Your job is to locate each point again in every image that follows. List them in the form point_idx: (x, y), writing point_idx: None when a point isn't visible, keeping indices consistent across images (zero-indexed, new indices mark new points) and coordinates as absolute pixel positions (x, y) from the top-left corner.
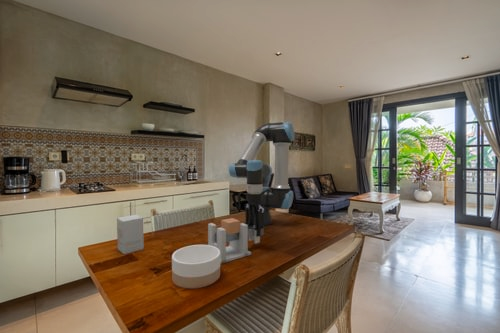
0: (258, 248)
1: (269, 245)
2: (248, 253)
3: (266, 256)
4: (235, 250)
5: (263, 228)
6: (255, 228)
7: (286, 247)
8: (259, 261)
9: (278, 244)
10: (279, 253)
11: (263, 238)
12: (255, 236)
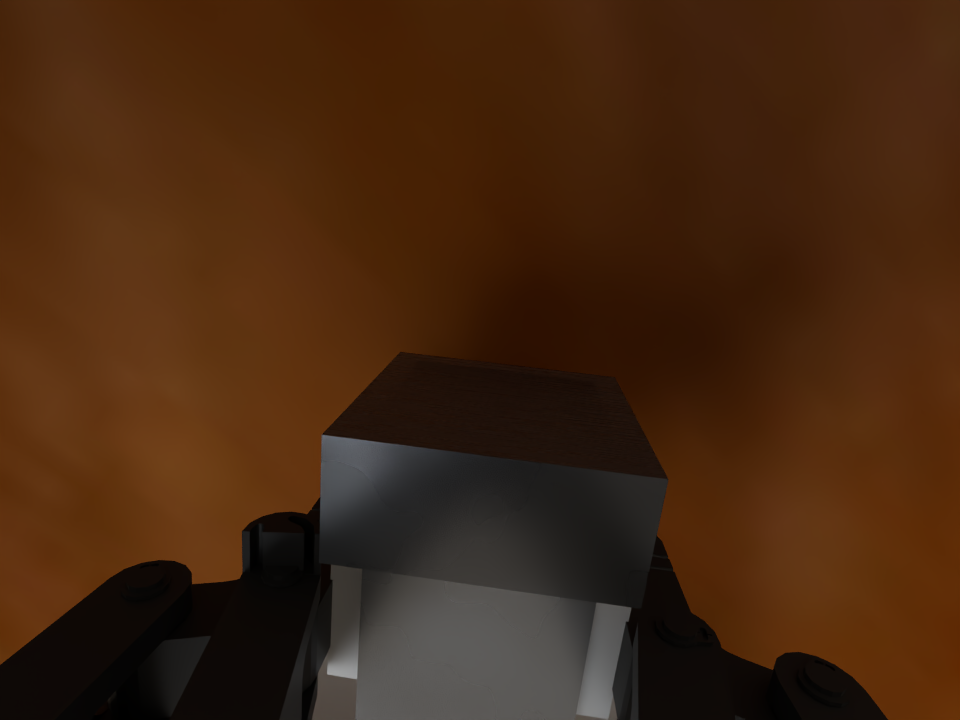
0: None
1: (613, 213)
2: None
3: (833, 529)
4: None
5: (640, 442)
6: (574, 699)
7: (894, 49)
8: (850, 671)
9: (698, 52)
10: (928, 336)
11: (313, 42)
12: None
